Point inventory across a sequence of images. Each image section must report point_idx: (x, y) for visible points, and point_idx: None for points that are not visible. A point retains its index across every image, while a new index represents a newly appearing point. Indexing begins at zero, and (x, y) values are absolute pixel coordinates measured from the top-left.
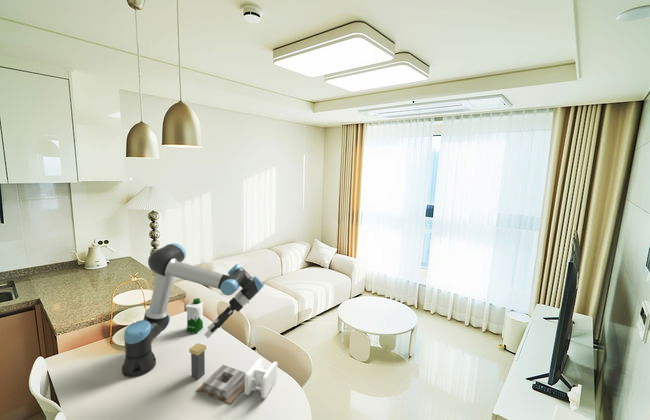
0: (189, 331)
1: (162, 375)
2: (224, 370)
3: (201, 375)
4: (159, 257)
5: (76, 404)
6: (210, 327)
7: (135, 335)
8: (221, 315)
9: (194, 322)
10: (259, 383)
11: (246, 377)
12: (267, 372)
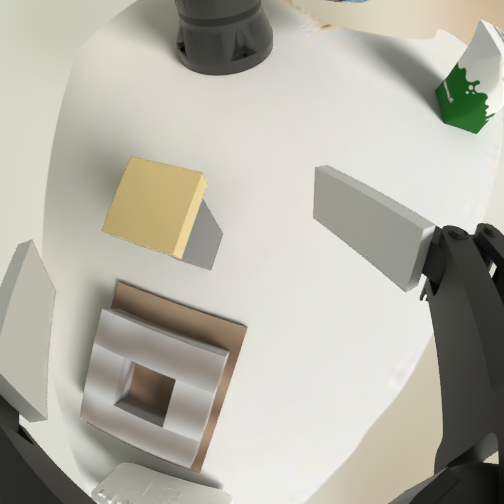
0: (439, 96)
1: (190, 118)
2: (184, 378)
3: (191, 263)
4: None
5: (101, 35)
6: (329, 198)
7: None
8: (463, 314)
9: (462, 89)
10: None
11: (92, 498)
12: None
